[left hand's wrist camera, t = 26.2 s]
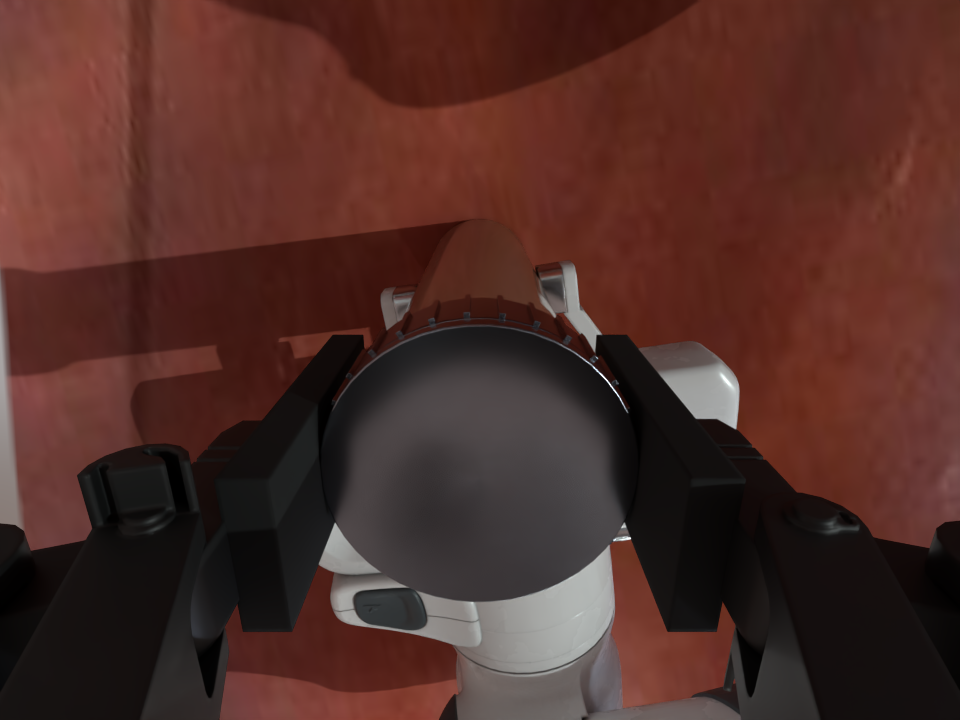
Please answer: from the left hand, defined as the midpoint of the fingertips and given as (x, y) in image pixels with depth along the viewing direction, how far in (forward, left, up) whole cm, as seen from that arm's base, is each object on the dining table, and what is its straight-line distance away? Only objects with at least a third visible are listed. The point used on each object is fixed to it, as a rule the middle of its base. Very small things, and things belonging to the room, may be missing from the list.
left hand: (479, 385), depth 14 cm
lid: (0, 0, +4) cm, 4 cm away
